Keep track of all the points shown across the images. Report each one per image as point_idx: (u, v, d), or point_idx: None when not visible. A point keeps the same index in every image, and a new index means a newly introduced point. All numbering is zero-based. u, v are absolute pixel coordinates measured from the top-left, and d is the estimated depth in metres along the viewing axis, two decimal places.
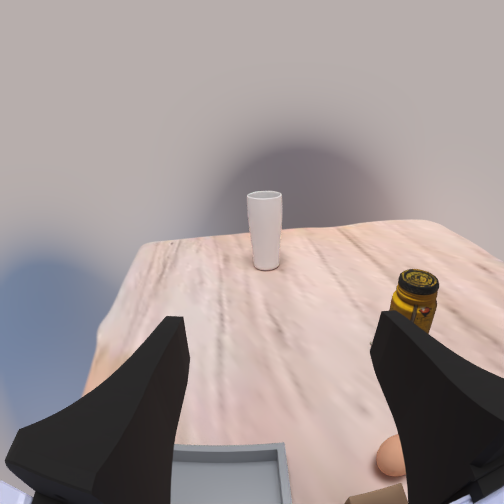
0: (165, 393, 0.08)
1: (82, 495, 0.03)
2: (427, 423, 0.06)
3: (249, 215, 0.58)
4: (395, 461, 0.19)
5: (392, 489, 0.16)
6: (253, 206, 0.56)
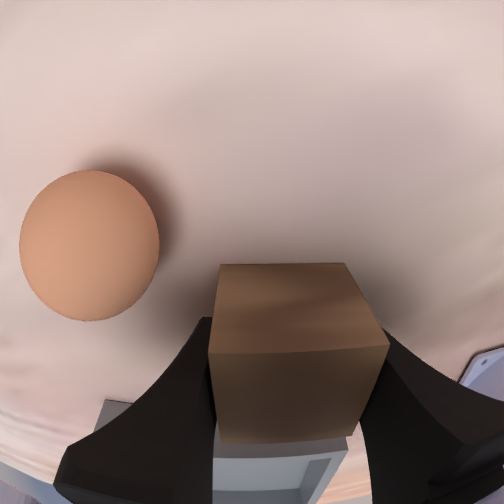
0: (209, 396, 0.08)
1: None
2: (389, 433, 0.06)
3: None
4: (113, 309, 0.07)
5: (225, 378, 0.07)
6: None
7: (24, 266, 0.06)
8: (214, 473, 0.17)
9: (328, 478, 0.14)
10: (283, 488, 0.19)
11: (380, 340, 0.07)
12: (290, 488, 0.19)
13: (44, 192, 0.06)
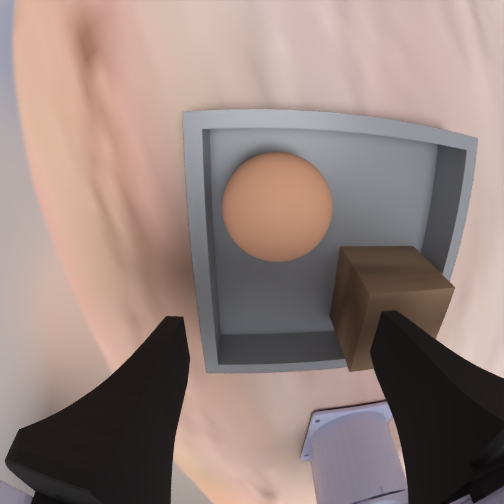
0: (165, 393, 0.08)
1: (82, 495, 0.03)
2: (427, 423, 0.06)
3: None
4: (245, 246, 0.11)
5: (438, 296, 0.12)
6: None
7: (289, 190, 0.10)
8: None
9: None
10: (224, 317, 0.17)
11: None
12: (223, 325, 0.17)
13: (330, 199, 0.11)
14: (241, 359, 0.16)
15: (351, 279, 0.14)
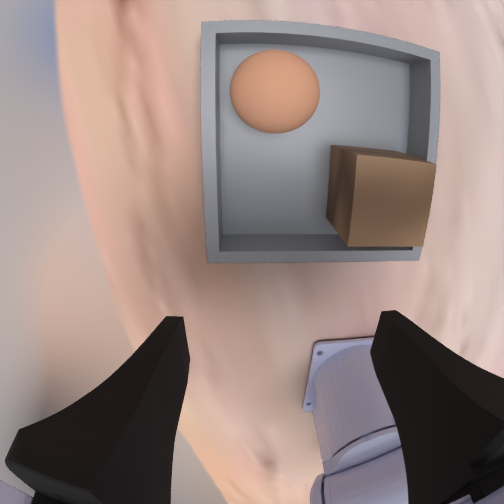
0: (165, 393, 0.08)
1: (82, 495, 0.03)
2: (427, 423, 0.06)
3: None
4: (249, 111, 0.13)
5: (421, 169, 0.13)
6: None
7: (284, 63, 0.11)
8: None
9: (365, 257, 0.17)
10: (226, 214, 0.18)
11: (422, 241, 0.15)
12: (225, 223, 0.19)
13: (317, 79, 0.12)
14: (242, 248, 0.17)
15: (341, 161, 0.15)
